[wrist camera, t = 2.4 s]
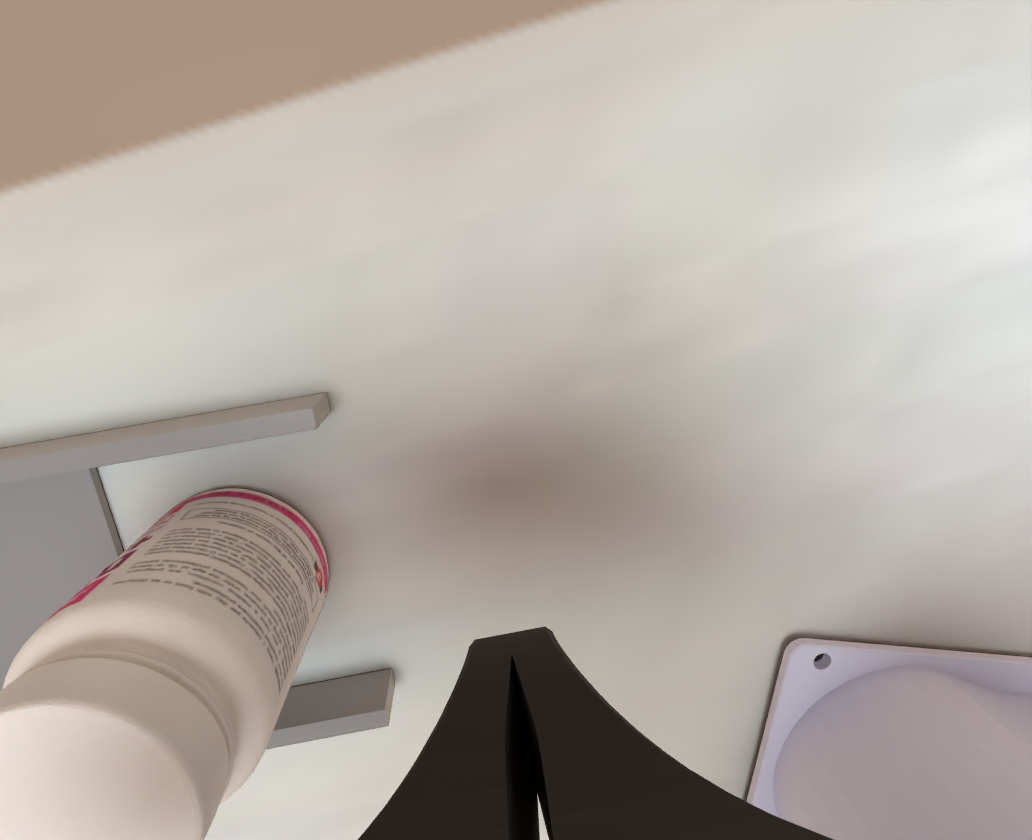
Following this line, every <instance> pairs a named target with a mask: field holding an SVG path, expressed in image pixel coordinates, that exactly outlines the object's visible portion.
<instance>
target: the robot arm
mask: <svg viewBox="0 0 1032 840" xmlns="http://www.w3.org/2000/svg"><path fill="white" fill-rule="evenodd" d="M823 653H824V656H823V657H822V659H820V660H819V661H816V662H814V659H815V657H816V656H818V655H819V654H823ZM537 793H538V797H539V801H540V805H541V809H542V813H543V817H544V821H545V825H546V829H547V833H548V837H549V840H1032V657H1021V656H1009V655H998V654H986V653H974V652H962V651H950V650H939V649H927V648H915V647H903V646H891V645H880V644H868V643H856V642H844V641H833V640H821V639H809V638H800V639H796V640H794V641H792V642H791V643H790V644H789V645H788V646H787V647H786V649H785V651H784V654H783V658H782V662H781V666H780V670H779V674H778V678H777V682H776V686H775V690H774V694H773V698H772V702H771V706H770V710H769V714H768V718H767V722H766V726H765V730H764V734H763V738H762V742H761V746H760V750H759V754H758V758H757V762H756V766H755V770H754V773H753V777H752V781H751V785H750V789H749V793H748V797H747V801H744V800H742V799H740V798H738V797H736V796H734V795H732V794H730V793H728V792H726V791H725V790H723V789H721V788H720V787H718V786H716V785H715V784H713V783H711V782H710V781H708V780H706V779H705V778H703V777H701V776H700V775H698V774H696V773H695V772H693V771H691V770H690V769H688V768H687V767H685V766H684V765H682V764H681V763H680V762H678V761H677V760H675V759H674V758H673V757H671V756H670V755H668V754H667V753H666V752H664V751H663V750H662V749H660V748H659V747H658V746H657V745H655V744H654V743H653V742H651V741H650V740H649V739H648V738H646V737H645V736H644V735H643V734H642V733H640V732H639V731H638V730H637V729H636V728H635V727H633V726H632V725H631V724H630V723H629V722H628V721H627V720H626V719H625V718H623V717H622V716H621V715H620V714H619V713H618V712H617V711H616V710H615V709H614V708H613V707H612V706H611V705H610V704H609V703H608V702H607V701H606V700H605V699H604V698H603V697H602V696H601V695H600V694H599V693H598V692H597V691H596V689H595V688H594V687H593V686H592V685H591V684H590V683H589V682H588V681H587V679H586V678H585V677H584V676H583V675H582V674H581V673H580V671H579V670H578V669H577V668H576V667H575V665H574V664H573V663H572V661H571V660H570V659H569V657H568V656H567V655H566V653H565V652H564V651H563V649H562V648H561V646H560V645H559V643H558V641H557V640H556V638H555V636H554V634H553V632H552V631H551V630H549V629H548V628H546V627H540V628H535V629H530V630H524V631H519V632H514V633H508V634H503V635H498V636H493V637H487V638H482V639H477V640H474V642H473V643H472V644H471V646H470V647H469V650H468V654H467V657H466V660H465V662H464V665H463V668H462V670H461V673H460V675H459V678H458V680H457V683H456V685H455V687H454V690H453V692H452V694H451V696H450V698H449V700H448V702H447V704H446V706H445V708H444V711H443V713H442V715H441V717H440V719H439V721H438V723H437V725H436V726H435V728H434V730H433V732H432V733H431V735H430V737H429V739H428V741H427V742H426V744H425V746H424V748H423V749H422V751H421V753H420V755H419V756H418V758H417V760H416V761H415V763H414V764H413V766H412V768H411V769H410V771H409V772H408V774H407V775H406V777H405V778H404V780H403V781H402V783H401V784H400V786H399V787H398V789H397V790H396V791H395V793H394V794H393V796H392V797H391V798H390V800H389V801H388V803H387V804H386V805H385V807H384V808H383V809H382V811H381V812H380V813H379V814H378V816H377V817H376V818H375V819H374V821H373V822H372V823H371V824H370V826H369V827H368V828H367V829H366V831H365V832H364V833H363V834H362V835H361V836H360V838H359V839H358V840H540V838H539V818H538V798H537Z"/></svg>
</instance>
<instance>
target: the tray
mask: <svg viewBox="0 0 1032 840" xmlns="http://www.w3.org/2000/svg"><path fill="white" fill-rule="evenodd" d="M330 412H331V410H330V405H329V401H328V397H327V392H325V393H319V394H314V395H308V396H302V397H296V398H291V399H285V400H279V401H273V402H267V403H262V404H256V405H250V406H244V407H238V408H233V409H227V410H221V411H215V412H209V413H204V414H198V415H192V416H186V417H181V418H175V419H169V420H163V421H157V422H152V423H146V424H140V425H134V426H128V427H123V428H117V429H111V430H105V431H100V432H94V433H88V434H82V435H76V436H71V437H65V438H59V439H53V440H47V441H42V442H36V443H30V444H24V445H18V446H13V447H7V448H1V449H0V691H1V690H2V688H3V685H4V681H5V677H6V675H7V673H8V670H9V668H10V666H11V664H12V662H13V660H14V658H15V656H16V655H17V653H18V652H19V650H20V649H21V647H22V646H23V645H24V643H25V642H26V641H27V640H28V639H29V638H30V637H31V636H32V634H33V633H34V632H35V631H36V630H37V629H38V628H39V627H40V626H41V625H42V624H43V623H44V622H45V621H47V620H48V619H49V618H50V617H51V616H52V615H53V614H54V613H56V612H57V611H58V610H59V609H60V608H61V607H62V606H63V605H64V604H65V603H67V602H68V601H69V600H70V599H71V598H72V597H74V596H75V595H76V594H77V593H78V592H80V591H81V590H82V589H83V588H84V587H85V586H86V585H87V584H88V583H89V582H90V581H92V580H93V579H94V578H95V577H96V576H97V575H98V574H100V573H101V572H102V571H103V570H104V569H105V568H106V567H108V566H109V565H110V564H111V563H112V562H113V561H114V560H116V559H117V558H118V557H119V556H120V555H121V554H122V553H123V549H122V545H121V542H120V539H119V536H118V533H117V530H116V527H115V524H114V521H113V518H112V515H111V512H110V509H109V506H108V503H107V500H106V497H105V494H104V491H103V488H102V485H101V482H100V479H99V476H98V473H97V470H96V467H101V466H106V465H112V464H118V463H124V462H129V461H135V460H141V459H146V458H152V457H158V456H164V455H169V454H175V453H181V452H187V451H192V450H198V449H204V448H209V447H215V446H221V445H227V444H232V443H238V442H244V441H250V440H255V439H261V438H267V437H272V436H278V435H284V434H290V433H295V432H301V431H307V430H313V429H317V428H318V427H319V425H320V424H321V423H322V422H323V420H324V419H325V418H326V417H327V415H328V414H329V413H330ZM394 687H395V682H394V677H393V673H392V669H386V670H381V671H376V672H370V673H365V674H360V675H355V676H349V677H344V678H339V679H333V680H328V681H323V682H317V683H312V684H307V685H301V686H296V687H291V688H290V689H289V691H288V694H287V696H286V699H285V701H284V704H283V706H282V709H281V712H280V714H279V717H278V719H277V722H276V724H275V727H274V730H273V732H272V735H271V737H270V740H269V742H268V745H267V747H266V749H270V748H276V747H281V746H286V745H291V744H297V743H302V742H307V741H312V740H317V739H323V738H328V737H333V736H338V735H344V734H349V733H354V732H359V731H365V730H370V729H375V728H380V727H386V726H389V720H390V713H391V707H392V700H393V694H394Z"/></svg>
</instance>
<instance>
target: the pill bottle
mask: <svg viewBox="0 0 1032 840" xmlns="http://www.w3.org/2000/svg"><path fill="white" fill-rule="evenodd" d="M328 579H329V571H328V563H327V558H326V554H325V551H324V548H323V545H322V543H321V541H320V538H319V537H318V535H317V533H316V532H315V530H314V529H313V527H312V526H311V525H310V524H309V522H308V521H307V520H306V519H305V518H304V517H303V516H302V515H301V514H299V513H298V512H297V511H296V510H294V509H293V508H292V507H290V506H289V505H287V504H285V503H283V502H282V501H280V500H278V499H275V498H273V497H271V496H269V495H266V494H263V493H260V492H256V491H252V490H246V489H236V488H227V489H218V490H212V491H208V492H204V493H201V494H198V495H196V496H193V497H191V498H189V499H187V500H185V501H183V502H181V503H180V504H178V505H177V506H175V507H174V508H172V509H171V510H170V511H169V512H168V513H166V514H165V515H164V516H163V517H162V518H161V519H160V520H159V521H158V522H157V523H155V524H154V525H153V526H152V527H151V528H150V529H149V530H148V531H147V532H146V533H145V534H143V535H142V536H141V537H140V538H139V539H138V540H137V541H136V542H135V543H133V544H132V545H131V546H130V547H129V548H128V549H126V550H125V551H124V552H123V553H122V554H121V555H120V556H119V557H118V558H117V559H116V560H114V561H113V562H112V563H111V564H110V565H109V566H108V567H106V568H105V569H104V570H103V571H102V572H101V573H100V574H98V575H97V576H96V577H95V578H94V579H93V580H92V581H90V582H89V583H88V584H87V585H86V586H85V587H84V588H83V589H82V590H81V591H80V592H78V593H77V594H76V595H75V596H74V597H72V598H71V599H70V600H69V601H68V602H67V603H65V604H64V605H63V606H62V607H61V608H60V609H59V610H58V611H57V612H56V613H54V614H53V615H52V616H51V617H50V618H49V619H48V620H47V621H45V622H44V623H43V624H42V625H41V626H40V627H39V628H38V629H37V630H36V631H35V632H34V633H33V634H32V636H31V637H30V638H29V639H28V640H27V641H26V642H25V643H24V645H23V646H22V647H21V649H20V650H19V652H18V653H17V655H16V656H15V658H14V660H13V662H12V664H11V666H10V668H9V670H8V673H7V675H6V677H5V681H4V685H3V688H2V690H1V691H0V840H204V838H205V836H206V834H207V832H208V829H209V827H210V825H211V823H212V821H213V819H214V816H215V814H216V811H217V808H218V806H219V804H221V803H222V802H224V801H225V800H226V799H227V798H229V797H230V796H231V795H232V794H233V793H235V792H236V791H237V790H238V789H239V788H240V787H241V786H242V785H243V784H244V782H245V781H246V780H247V779H248V778H249V776H250V775H251V774H252V772H253V771H254V770H255V768H256V766H257V764H258V763H259V761H260V759H261V757H262V755H263V753H264V751H265V749H266V747H267V745H268V742H269V740H270V737H271V735H272V732H273V730H274V727H275V724H276V722H277V719H278V717H279V714H280V712H281V709H282V706H283V704H284V701H285V699H286V696H287V694H288V691H289V689H290V686H291V683H292V681H293V678H294V676H295V673H296V670H297V668H298V665H299V663H300V660H301V658H302V655H303V653H304V650H305V647H306V645H307V642H308V640H309V638H310V635H311V633H312V630H313V628H314V626H315V623H316V621H317V619H318V617H319V614H320V611H321V608H322V606H323V603H324V600H325V597H326V593H327V589H328Z"/></svg>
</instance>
